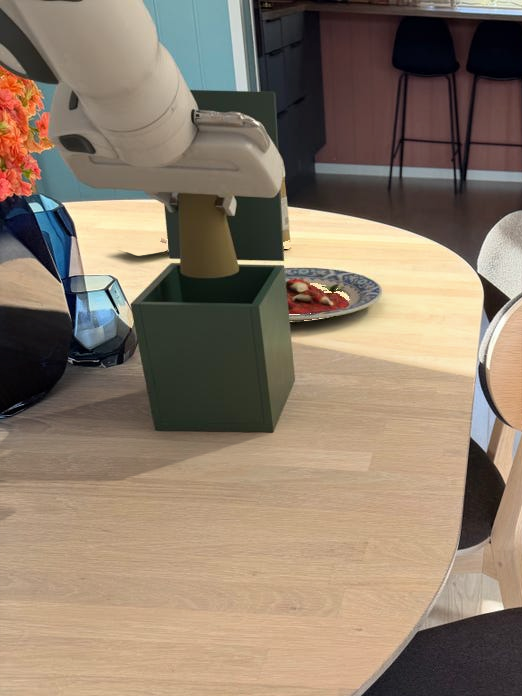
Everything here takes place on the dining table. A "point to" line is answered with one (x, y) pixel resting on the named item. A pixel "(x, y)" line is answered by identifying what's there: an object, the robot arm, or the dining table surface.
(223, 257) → the olive pawn
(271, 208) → the lid
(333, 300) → the ceramic plate
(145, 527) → the dining table surface
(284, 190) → the sprinkles bottle
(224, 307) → the box
